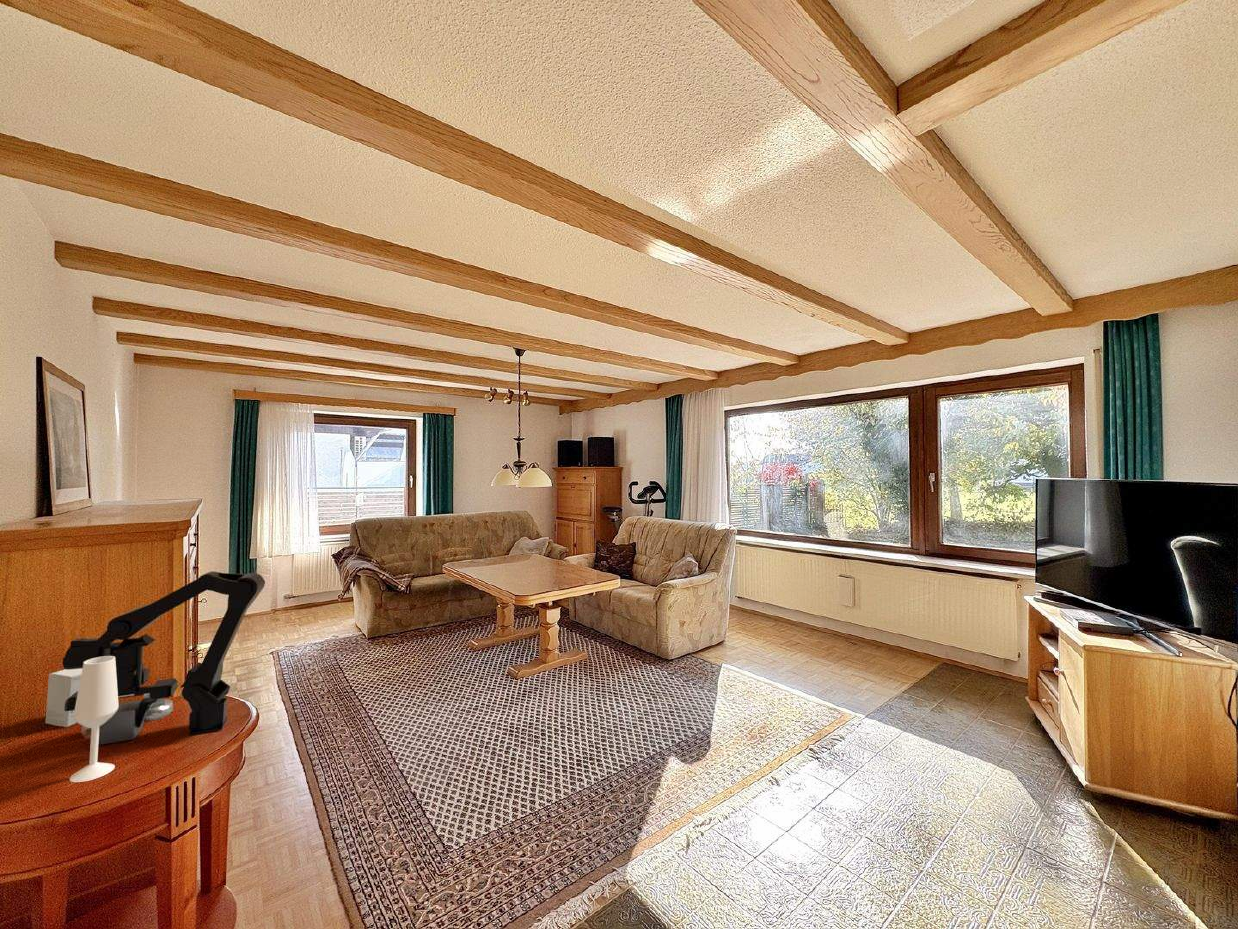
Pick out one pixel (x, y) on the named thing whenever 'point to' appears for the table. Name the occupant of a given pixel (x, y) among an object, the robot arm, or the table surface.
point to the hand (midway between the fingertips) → (122, 729)
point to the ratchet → (155, 712)
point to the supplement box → (61, 696)
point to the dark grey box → (121, 724)
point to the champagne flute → (96, 709)
